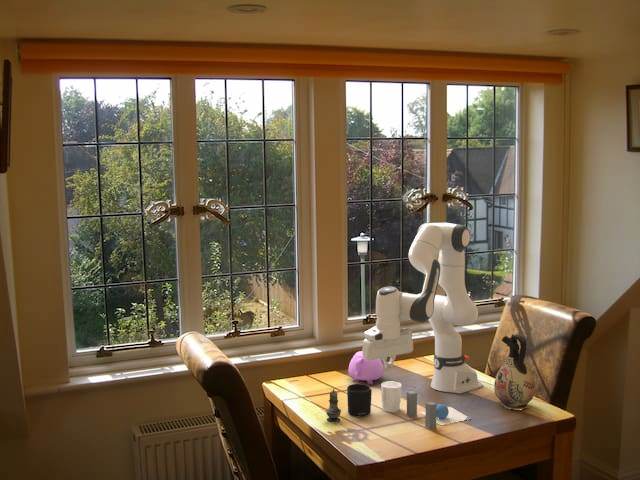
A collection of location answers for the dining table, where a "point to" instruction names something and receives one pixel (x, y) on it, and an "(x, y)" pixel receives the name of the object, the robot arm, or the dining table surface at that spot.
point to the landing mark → (450, 417)
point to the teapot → (365, 368)
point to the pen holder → (359, 400)
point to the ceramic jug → (514, 376)
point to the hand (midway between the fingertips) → (388, 367)
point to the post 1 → (411, 403)
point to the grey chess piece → (333, 408)
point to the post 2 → (430, 415)
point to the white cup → (391, 396)
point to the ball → (441, 411)
